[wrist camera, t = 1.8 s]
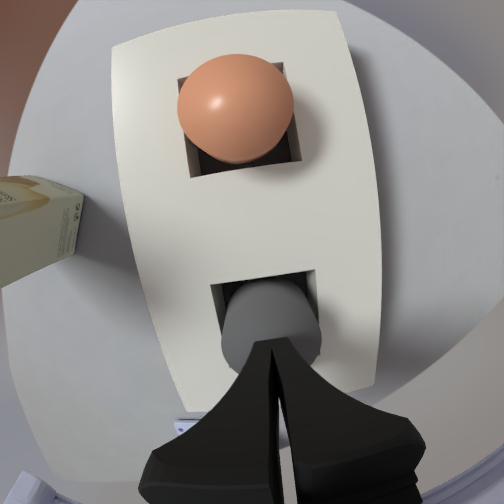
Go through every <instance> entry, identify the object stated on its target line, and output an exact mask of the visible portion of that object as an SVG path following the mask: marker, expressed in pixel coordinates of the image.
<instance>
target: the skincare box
mask: <svg viewBox="0 0 504 504" xmlns="http://www.w3.org/2000/svg"><path fill="white" fill-rule="evenodd" d="M83 199H84V196H83V194H81V193H79V192H76V191H74V190H72V189H69V188H67V187H64V186H62V185H59V184H56V183H54V182H51V181H48V180H45V179H41V178H38V177H35V176H31V175H27V176H9V177H0V289H1V288H3V287H5V286H7V285H9V284H11V283H13V282H14V281H17V280H19V279H21V278H23V277H25V276H27V275H29V274H31V273H33V272H35V271H37V270H40V269H42V268H44V267H46V266H48V265H51V264H53V263H55V262H57V261H60V260H62V259H64V258H66V257H69V256H71V255H73V254H74V250H75V244H76V238H77V232H78V227H79V221H80V215H81V210H82V204H83Z"/></svg>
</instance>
